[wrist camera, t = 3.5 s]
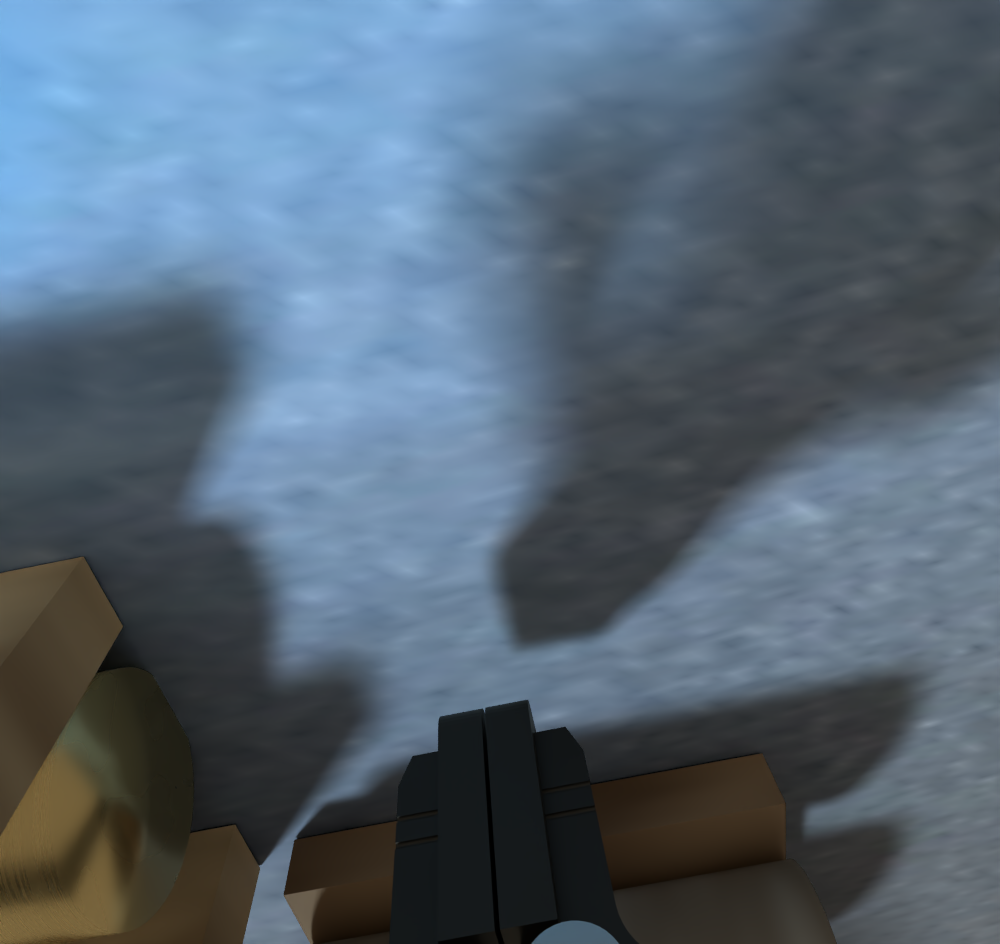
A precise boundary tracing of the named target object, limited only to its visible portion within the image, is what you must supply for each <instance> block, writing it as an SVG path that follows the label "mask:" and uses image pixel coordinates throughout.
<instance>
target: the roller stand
mask: <svg viewBox="0 0 1000 944" xmlns="http://www.w3.org/2000/svg"><path fill="white" fill-rule="evenodd" d="M591 789H592V794H593V799H594V803H595V808H596V813H597V818H598V822H599V827H600V832H601V837H602V841H603V846H604V851H605V856H606V860H607V865H608V870H609V875H610V879H611V884H612V889H613V894H614V898H615V903H616V907H617V910H618V914H619V916H620V918H621V920H622V923H623V924H624V926H625V927H626V929H627V931H628V932H629V933H630V935H631V936H632V937H633V938H634V939H635V940H636V941H637V942H638V943H639V944H837V943H836V940H835V937H834V935H833V932H832V929H831V927H830V924H829V921H828V919H827V916H826V914H825V912H824V909H823V907H822V905H821V902H820V900H819V898H818V896H817V894H816V892H815V890H814V888H813V886H812V884H811V882H810V880H809V879H808V877H807V875H806V874H805V872H804V871H803V869H802V868H801V866H800V865H799V864H798V863H797V862H796V861H795V860H793V859H786V803H785V801H784V799H783V797H782V794H781V792H780V790H779V788H778V786H777V784H776V782H775V780H774V777H773V775H772V773H771V771H770V769H769V767H768V765H767V763H766V760H765V758H764V756H763V754H762V753H761V754H755V755H750V756H745V757H739V758H734V759H728V760H723V761H718V762H712V763H707V764H701V765H696V766H691V767H685V768H680V769H674V770H669V771H664V772H658V773H653V774H647V775H642V776H637V777H631V778H626V779H621V780H615V781H610V782H604V783H599V784H594V785H591ZM396 823H397V821H394V822H389V823H383V824H378V825H372V826H367V827H362V828H356V829H351V830H345V831H340V832H335V833H329V834H324V835H318V836H313V837H308V838H302V839H297V840H294V845H293V850H292V855H291V860H290V865H289V871H288V876H287V881H286V886H285V891H284V897H285V899H286V900H287V902H288V904H289V906H290V908H291V909H292V911H293V913H294V915H295V917H296V918H297V920H298V922H299V924H300V926H301V927H302V929H303V931H304V933H305V935H306V936H307V938H308V940H309V942H310V944H389V937H390V920H391V904H392V887H393V871H394V854H395V849H396V844H395V838H396Z"/></svg>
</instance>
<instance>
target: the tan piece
mask: <svg viewBox="0 0 1000 944" xmlns="http://www.w3.org/2000/svg"><path fill="white" fill-rule="evenodd" d="M122 628H123V625H122V624H121V622H120V620H119V618H118V617H117V615H116V613H115V611H114V610H113V608H112V606H111V604H110V603H109V601H108V599H107V597H106V595H105V594H104V592H103V590H102V588H101V587H100V585H99V583H98V581H97V580H96V578H95V576H94V574H93V573H92V571H91V569H90V567H89V565H88V564H87V562H86V560H85V558H84V557H79V558H74V559H69V560H64V561H59V562H54V563H49V564H44V565H39V566H34V567H29V568H23V569H18V570H13V571H8V572H3V573H0V836H1V834H2V832H3V831H4V829H5V827H6V826H7V824H8V822H9V821H10V819H11V817H12V815H13V814H14V812H15V810H16V809H17V807H18V805H19V803H20V802H21V800H22V798H23V797H24V795H25V793H26V792H27V790H28V788H29V786H30V785H31V783H32V781H33V780H34V778H35V776H36V774H37V773H38V771H39V769H40V768H41V766H42V764H43V763H44V761H45V759H46V757H47V756H48V754H49V752H50V751H51V749H52V747H53V745H54V744H55V742H56V740H57V739H58V737H59V735H60V734H61V732H62V730H63V728H64V727H65V725H66V723H67V722H68V720H69V718H70V716H71V715H72V713H73V711H74V710H75V708H76V706H77V705H78V703H79V701H80V699H81V698H82V696H83V694H84V693H85V691H86V689H87V687H88V686H89V684H90V682H91V681H92V679H93V677H94V676H95V674H96V672H97V670H98V669H99V667H100V665H101V664H102V662H103V660H104V658H105V657H106V655H107V653H108V652H109V650H110V648H111V647H112V645H113V643H114V641H115V640H116V638H117V636H118V635H119V633H120V631H121V629H122ZM259 871H260V867H259V866H258V864H257V862H256V860H255V858H254V857H253V855H252V853H251V851H250V850H249V848H248V846H247V844H246V843H245V841H244V839H243V837H242V836H241V834H240V832H239V830H238V828H237V827H236V825H231V826H225V827H220V828H215V829H209V830H204V831H198V832H193V833H190V836H189V841H188V845H187V850H186V853H185V857H184V860H183V864H182V866H181V869H180V872H179V875H178V877H177V879H176V882H175V884H174V886H173V888H172V890H171V892H170V894H169V895H168V897H167V899H166V900H165V902H164V903H163V905H162V906H161V907H160V909H159V910H158V911H157V912H156V913H155V914H154V915H153V916H152V918H151V919H150V920H148V921H147V922H146V923H144V924H143V925H142V926H140V927H138V928H136V929H134V930H132V931H128V932H123V933H118V934H113V935H107V936H102V937H96V938H91V939H85V940H80V941H74V942H69V943H63V944H242V943H243V939H244V935H245V931H246V926H247V922H248V918H249V914H250V909H251V905H252V901H253V896H254V892H255V888H256V884H257V879H258V875H259Z"/></svg>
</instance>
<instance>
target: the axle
mask: <svg viewBox="0 0 1000 944" xmlns="http://www.w3.org/2000/svg"><path fill="white" fill-rule="evenodd" d="M193 802H194V778H193V765H192V757H191V750H190V745H189V740H188V737H187V736H186V734H185V732H184V730H183V728H182V727H181V725H180V723H179V721H178V720H177V718H176V716H175V714H174V712H173V711H172V709H171V707H170V705H169V704H168V702H167V700H166V698H165V696H164V695H163V693H162V691H161V689H160V688H159V686H158V684H157V682H156V680H155V679H154V677H153V675H152V674H150V673H148V672H147V671H145V670H142V669H139V668H133V667H125V668H118V669H113V670H108V671H103V672H97V673H96V674H95V676H94V677H93V679H92V681H91V682H90V684H89V686H88V687H87V689H86V691H85V693H84V694H83V696H82V698H81V699H80V701H79V703H78V705H77V706H76V708H75V710H74V711H73V713H72V715H71V716H70V718H69V720H68V722H67V723H66V725H65V727H64V728H63V730H62V732H61V734H60V735H59V737H58V739H57V740H56V742H55V744H54V745H53V747H52V749H51V751H50V752H49V754H48V756H47V757H46V759H45V761H44V763H43V764H42V766H41V768H40V769H39V771H38V773H37V774H36V776H35V778H34V780H33V781H32V783H31V785H30V786H29V788H28V790H27V792H26V793H25V795H24V797H23V798H22V800H21V802H20V803H19V805H18V807H17V809H16V810H15V812H14V814H13V815H12V817H11V819H10V821H9V822H8V824H7V826H6V827H5V829H4V831H3V832H2V834H1V836H0V944H63V943H69V942H74V941H80V940H85V939H91V938H96V937H102V936H107V935H113V934H118V933H123V932H128V931H132V930H134V929H136V928H138V927H140V926H142V925H143V924H144V923H146V922H147V921H148V920H150V919H151V918H152V916H153V915H154V914H155V913H156V912H157V911H158V910H159V909H160V907H161V906H162V905H163V903H164V902H165V900H166V899H167V897H168V895H169V894H170V892H171V890H172V888H173V886H174V884H175V882H176V879H177V877H178V875H179V872H180V869H181V866H182V864H183V860H184V857H185V853H186V850H187V845H188V841H189V836H190V830H191V824H192V815H193Z"/></svg>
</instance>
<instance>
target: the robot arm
mask: <svg viewBox="0 0 1000 944" xmlns="http://www.w3.org/2000/svg"><path fill="white" fill-rule="evenodd" d="M395 844H396V849H395V854H394V871H393V887H392V904H391V920H390V937H389V944H639V943H638V942H637V941H636V940H635V939H634V938H633V937H632V936H631V935H630V933H629V932H628V931H627V929H626V927H625V926H624V924H623V923H622V920H621V918H620V916H619V914H618V910H617V907H616V903H615V898H614V894H613V889H612V884H611V879H610V875H609V870H608V865H607V860H606V856H605V851H604V846H603V841H602V837H601V832H600V827H599V822H598V818H597V813H596V808H595V803H594V799H593V794H592V789H591V785H590V780H589V775H588V770H587V765H586V761H585V756H584V751H583V749H582V748H581V747H580V745H579V744H578V743H577V742H576V740H575V739H574V738H573V736H572V735H571V734H570V732H569V731H568V730H567V729H566V727H562V728H557V729H551V730H546V731H541V732H536V729H535V725H534V721H533V717H532V712H531V708H530V704H529V701H528V700H523V701H518V702H513V703H508V704H503V705H497V706H492V707H487V708H486V709H485V712H484V710H483V709H478V710H472V711H467V712H462V713H457V714H452V715H446V716H441V717H440V718H439V723H438V751H437V752H432V753H427V754H421V755H416V756H413V757H412V759H411V761H410V763H409V765H408V767H407V769H406V771H405V773H404V775H403V778H402V780H401V782H400V784H399V788H398V804H397V823H396V838H395Z"/></svg>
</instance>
